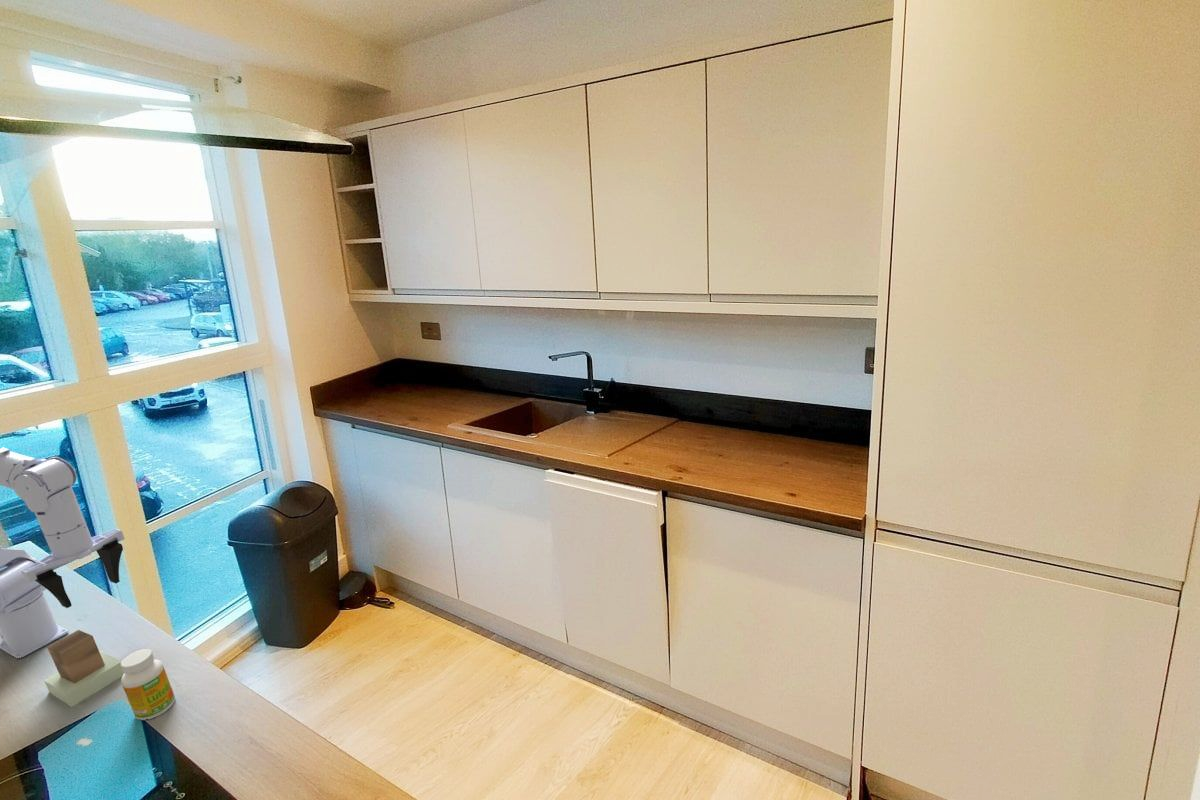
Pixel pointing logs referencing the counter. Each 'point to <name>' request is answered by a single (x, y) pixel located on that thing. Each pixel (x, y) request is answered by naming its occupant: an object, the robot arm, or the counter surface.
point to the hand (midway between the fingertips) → (91, 593)
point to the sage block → (85, 682)
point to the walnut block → (76, 656)
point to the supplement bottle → (146, 685)
